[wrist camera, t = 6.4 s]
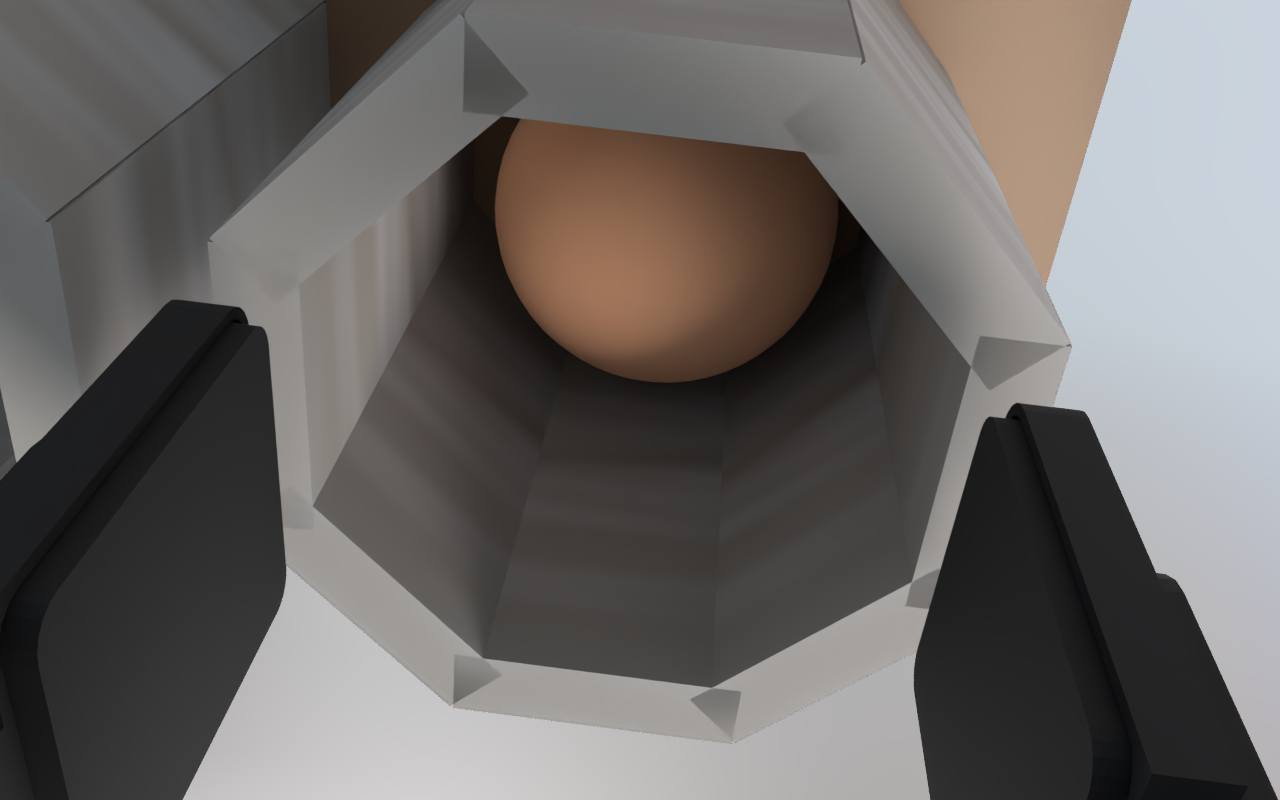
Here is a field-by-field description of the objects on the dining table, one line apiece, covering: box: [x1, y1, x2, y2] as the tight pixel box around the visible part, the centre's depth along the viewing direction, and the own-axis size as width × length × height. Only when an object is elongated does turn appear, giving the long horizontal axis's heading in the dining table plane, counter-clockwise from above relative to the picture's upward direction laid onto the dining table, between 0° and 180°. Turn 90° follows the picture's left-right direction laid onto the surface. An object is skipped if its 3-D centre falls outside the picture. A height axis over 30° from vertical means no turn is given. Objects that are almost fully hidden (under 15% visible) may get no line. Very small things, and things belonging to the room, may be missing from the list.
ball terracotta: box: [495, 119, 838, 383], centre depth 16 cm, size 4×4×4 cm
